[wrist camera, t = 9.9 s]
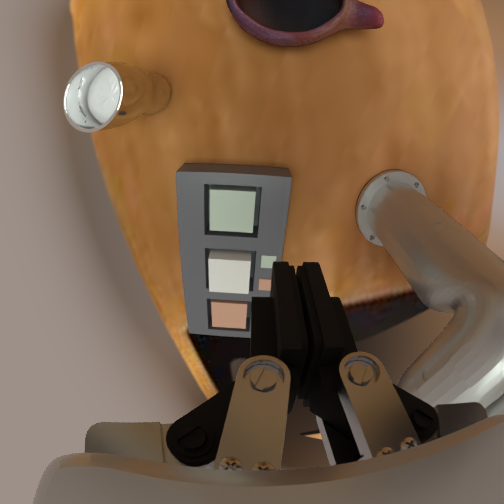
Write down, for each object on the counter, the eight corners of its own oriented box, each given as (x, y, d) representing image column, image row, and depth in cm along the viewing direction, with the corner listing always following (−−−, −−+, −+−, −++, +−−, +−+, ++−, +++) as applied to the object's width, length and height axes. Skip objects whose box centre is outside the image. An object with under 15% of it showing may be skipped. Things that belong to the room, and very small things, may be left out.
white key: (251, 249, 39) (250, 261, 36) (248, 281, 42) (248, 294, 39) (211, 247, 39) (208, 258, 36) (211, 278, 42) (209, 291, 39)
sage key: (255, 184, 36) (255, 192, 33) (252, 222, 38) (252, 232, 36) (213, 182, 35) (209, 189, 33) (212, 220, 38) (209, 230, 36)
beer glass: (149, 128, 33) (91, 150, 20) (118, 97, 30) (50, 105, 17) (185, 92, 30) (140, 89, 17) (152, 60, 28) (93, 45, 15)
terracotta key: (247, 292, 45) (247, 304, 42) (245, 316, 48) (245, 328, 45) (213, 289, 45) (211, 302, 42) (214, 314, 48) (212, 326, 45)
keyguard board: (288, 168, 36) (292, 178, 32) (268, 320, 50) (269, 339, 46) (184, 163, 35) (175, 172, 31) (193, 315, 50) (188, 333, 46)
